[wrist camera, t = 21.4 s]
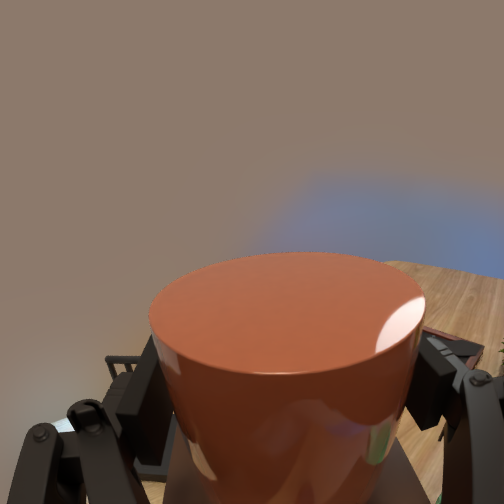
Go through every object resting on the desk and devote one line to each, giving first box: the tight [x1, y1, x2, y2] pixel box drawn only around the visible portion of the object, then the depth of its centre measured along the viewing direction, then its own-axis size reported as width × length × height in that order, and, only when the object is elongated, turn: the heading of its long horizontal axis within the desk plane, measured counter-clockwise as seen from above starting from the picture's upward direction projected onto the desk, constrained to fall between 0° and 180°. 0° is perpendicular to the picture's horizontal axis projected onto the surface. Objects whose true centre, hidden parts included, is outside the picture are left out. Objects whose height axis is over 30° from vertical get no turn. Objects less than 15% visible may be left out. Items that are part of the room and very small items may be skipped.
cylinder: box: [148, 252, 426, 504], centre depth 10 cm, size 8×8×10 cm
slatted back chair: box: [105, 356, 177, 482], centre depth 37 cm, size 18×14×14 cm
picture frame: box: [422, 326, 485, 370], centre depth 54 cm, size 20×2×25 cm
